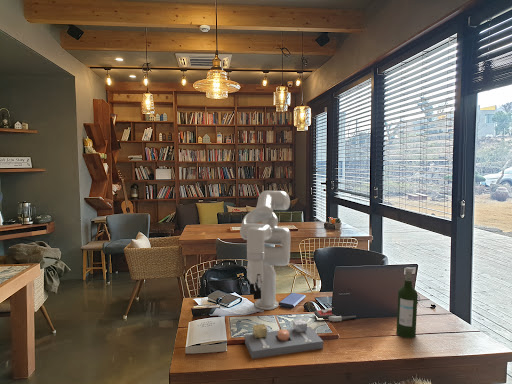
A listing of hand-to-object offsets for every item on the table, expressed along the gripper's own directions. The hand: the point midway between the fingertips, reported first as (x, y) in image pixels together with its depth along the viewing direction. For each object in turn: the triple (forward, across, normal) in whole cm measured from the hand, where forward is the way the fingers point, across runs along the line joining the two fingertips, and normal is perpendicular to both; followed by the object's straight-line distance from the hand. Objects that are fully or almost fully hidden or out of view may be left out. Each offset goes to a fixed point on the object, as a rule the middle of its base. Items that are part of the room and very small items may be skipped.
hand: (255, 295), depth 150 cm
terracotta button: (+15, +12, +9) cm, 21 cm away
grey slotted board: (+18, +12, +9) cm, 23 cm away
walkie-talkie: (+18, -6, +42) cm, 46 cm away
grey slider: (+14, +8, +18) cm, 24 cm away
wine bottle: (+18, +16, +65) cm, 69 cm away
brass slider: (+14, +8, 0) cm, 16 cm away
